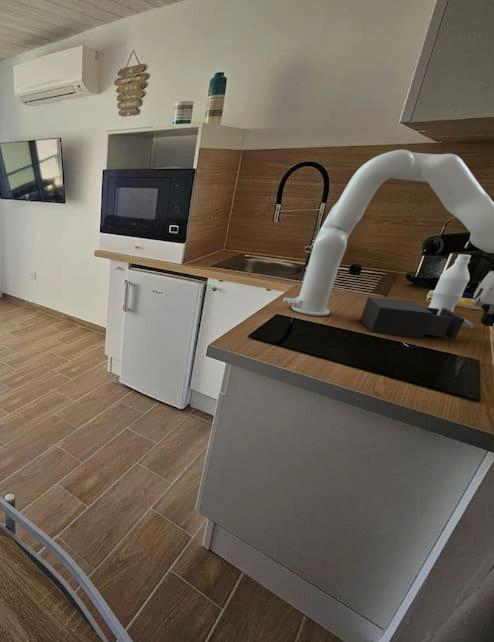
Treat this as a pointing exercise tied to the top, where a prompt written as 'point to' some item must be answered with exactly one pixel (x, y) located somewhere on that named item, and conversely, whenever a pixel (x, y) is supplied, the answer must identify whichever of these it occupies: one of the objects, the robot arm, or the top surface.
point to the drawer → (445, 323)
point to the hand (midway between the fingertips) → (486, 324)
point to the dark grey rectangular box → (395, 317)
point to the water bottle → (451, 285)
